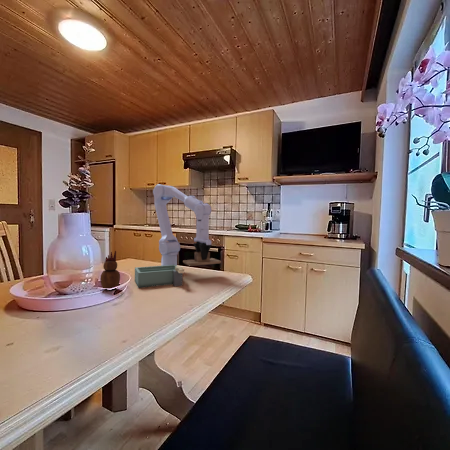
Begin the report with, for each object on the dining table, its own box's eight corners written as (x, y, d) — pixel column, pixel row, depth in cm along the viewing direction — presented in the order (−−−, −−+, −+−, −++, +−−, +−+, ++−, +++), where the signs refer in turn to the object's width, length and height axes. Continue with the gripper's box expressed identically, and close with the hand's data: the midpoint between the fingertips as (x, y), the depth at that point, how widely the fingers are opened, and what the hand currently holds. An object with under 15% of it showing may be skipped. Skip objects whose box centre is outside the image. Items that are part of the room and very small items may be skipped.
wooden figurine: (122, 287, 102) (122, 250, 102) (114, 292, 97) (114, 252, 96) (106, 286, 103) (106, 249, 102) (97, 291, 97) (97, 251, 97)
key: (175, 270, 107) (175, 266, 107) (180, 269, 108) (180, 266, 108) (179, 273, 102) (179, 269, 102) (184, 272, 103) (184, 269, 103)
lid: (183, 262, 120) (183, 251, 119) (212, 260, 127) (212, 250, 127) (189, 265, 112) (190, 254, 112) (220, 263, 120) (221, 252, 120)
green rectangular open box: (134, 281, 112) (134, 267, 112) (175, 277, 120) (175, 264, 120) (139, 290, 100) (139, 274, 99) (184, 285, 108) (184, 270, 107)
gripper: (188, 228, 123) (188, 256, 124) (201, 230, 111) (200, 262, 111) (202, 228, 127) (201, 255, 128) (215, 230, 114) (215, 260, 115)
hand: (202, 258), depth 120 cm, fingers closed on lid, 4 cm apart
